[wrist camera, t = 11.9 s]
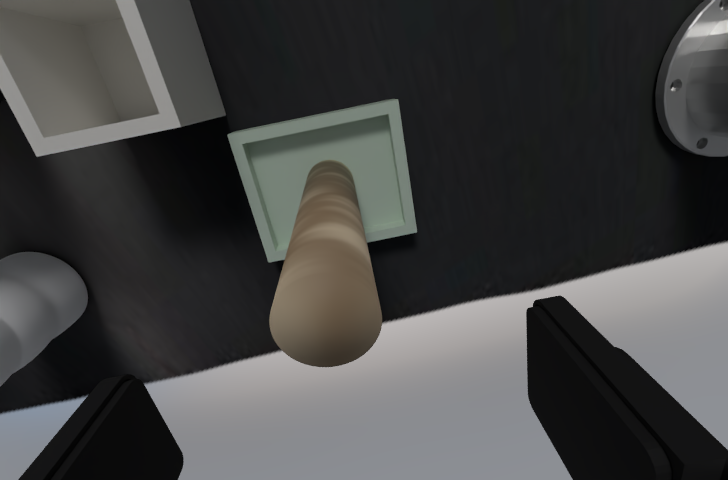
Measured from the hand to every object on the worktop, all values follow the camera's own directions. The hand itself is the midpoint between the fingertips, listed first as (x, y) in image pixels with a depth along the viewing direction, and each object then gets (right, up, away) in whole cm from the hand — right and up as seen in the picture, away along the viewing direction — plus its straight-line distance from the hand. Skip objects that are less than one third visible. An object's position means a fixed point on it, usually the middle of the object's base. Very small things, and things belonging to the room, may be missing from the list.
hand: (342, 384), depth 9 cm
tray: (-2, +8, +20) cm, 22 cm away
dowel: (-2, +8, +19) cm, 21 cm away
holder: (-14, +15, +16) cm, 26 cm away
